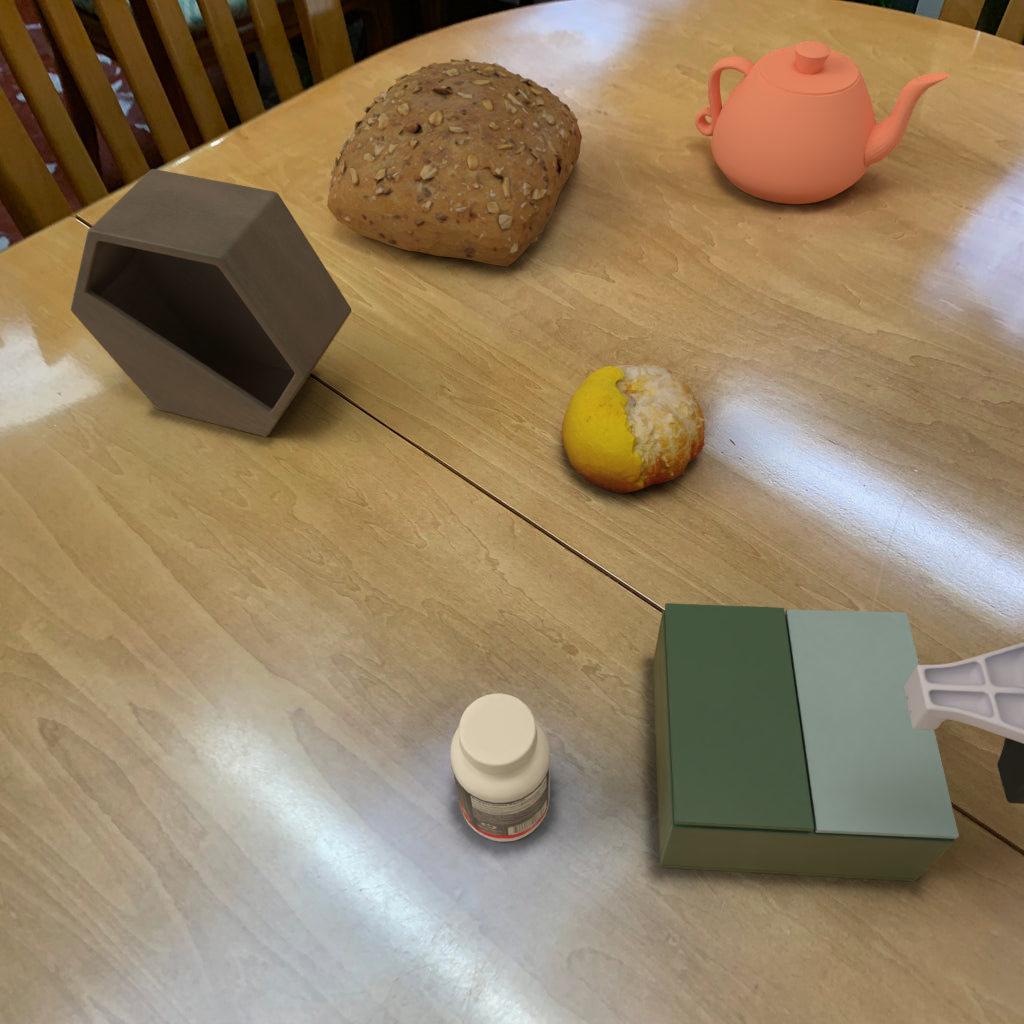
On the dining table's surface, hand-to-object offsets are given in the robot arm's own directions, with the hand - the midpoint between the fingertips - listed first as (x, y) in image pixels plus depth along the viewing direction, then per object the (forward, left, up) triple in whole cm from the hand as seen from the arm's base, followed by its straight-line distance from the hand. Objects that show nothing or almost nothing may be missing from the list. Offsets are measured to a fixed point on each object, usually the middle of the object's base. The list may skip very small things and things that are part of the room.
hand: (1016, 783), depth 44 cm
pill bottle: (+25, -2, -11) cm, 27 cm away
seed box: (+9, -5, -10) cm, 15 cm away
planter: (+49, -35, -11) cm, 61 cm away
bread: (+33, -63, -11) cm, 72 cm away
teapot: (0, -68, -11) cm, 69 cm away
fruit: (+17, -30, -11) cm, 36 cm away
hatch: (+5, -5, -4) cm, 8 cm away
